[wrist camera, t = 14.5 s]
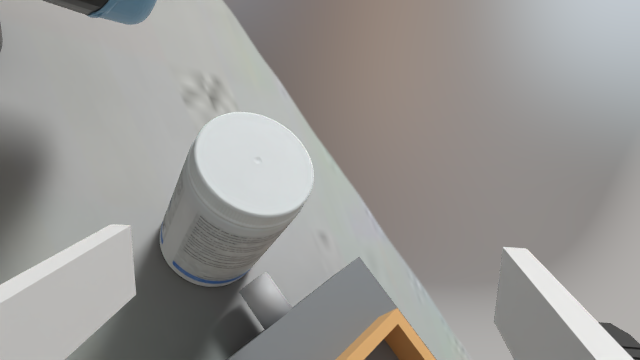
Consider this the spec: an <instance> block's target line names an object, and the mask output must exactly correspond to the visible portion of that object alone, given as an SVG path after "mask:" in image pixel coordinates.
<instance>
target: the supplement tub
mask: <svg viewBox="0 0 640 360" xmlns="http://www.w3.org/2000/svg"><path fill="white" fill-rule="evenodd" d="M313 182H314V171H313V166H312V162H311V159H310V157H309V154H308V152H307V150H306V149H305V147H304V146H303V144H302V143H301V142H300V140H299V139H298V138H297V137H296V136H295V135H294V134H293V133H292V132H291V131H290V130H288V129H287V128H286V127H284V126H283V125H281V124H280V123H278V122H276V121H275V120H272V119H270V118H268V117H265V116H262V115H259V114H255V113H249V112H232V113H227V114H223V115H220V116H218V117H216V118H214V119H212V120H211V121H209V122H208V123H207V124H206V125H205V126H204V127H203V128H202V129H201V130H200V132H199V134H198V136H197V137H196V139H195V140H194V142H193V143H192V145H191V147H190V150H189V153H188V155H187V158H186V160H185V163H184V166H183V168H182V171H181V174H180V176H179V179H178V182H177V185H176V187H175V190H174V193H173V195H172V198H171V201H170V203H169V206H168V209H167V211H166V214H165V217H164V220H163V222H162V226H161V229H160V247H161V251H162V254H163V256H164V258H165V260H166V262H167V263H168V265H169V266H170V267H171V268H172V269H173V270H174V271H175V272H176V273H177V274H178V275H180V276H181V277H182V278H184V279H185V280H187V281H189V282H191V283H194V284H197V285H201V286H206V287H218V286H224V285H228V284H230V283H233V282H235V281H237V280H238V279H240V278H241V277H243V276H244V275H245V274H246V273H247V272H248V271H249V270H250V269H251V268H252V267H253V265H254V264H255V263H256V262H257V261H258V260H259V259H260V257H261V256H262V255H263V254H264V253H265V252H266V251H267V249H268V248H269V247H270V246H271V245H272V244H273V242H274V241H275V240H276V239H277V238H278V237H279V236H280V234H281V233H282V232H283V231H284V230H285V229H286V228H287V226H288V225H289V224H290V223H291V222H292V220H293V219H294V218H295V217H296V216H297V214H298V213H299V212H300V210H301V208H302V207H303V205H304V203H305V201H306V200H307V198H308V197H309V195H310V193H311V190H312V187H313Z"/></svg>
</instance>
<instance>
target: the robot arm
mask: <svg viewBox="0 0 640 360" xmlns="http://www.w3.org/2000/svg"><path fill="white" fill-rule="evenodd" d="M43 1H46V2H49V3H52V4H55V5H58V6H61V7H64V8H67V9H70V10H73V11H76V12H79V13H82V14H85V15H87V16H89V17H92V18H98V17H100V18H104V19H108V20H112V21H116V22H120V23H124V24H131V25H133V24H138V23H140V22H142V21H144V20H145V19H146V18H147V17H148V16H149V14H150V13H151V11H152V9H153V7H154V5H155V3H156V1H157V0H43ZM1 48H2V31H1V24H0V51H1ZM135 295H136V287H135V274H134V260H133V247H132V234H131V225H116V224H111V225H109V226H107V227H105V228H103V229H101V230H100V231H98V232H96V233H94V234H92V235H90V236H89V237H87V238H85V239H83V240H81V241H79V242H78V243H76V244H74V245H72V246H70V247H68V248H67V249H65V250H63V251H61V252H59V253H57V254H56V255H54V256H52V257H50V258H48V259H46V260H45V261H43V262H41V263H39V264H37V265H35V266H34V267H32V268H30V269H28V270H26V271H24V272H23V273H21V274H19V275H17V276H15V277H13V278H12V279H10V280H8V281H6V282H4V283H3V284H1V285H0V360H65V359H66V358H67V357H68V356H69V355H70V354H71V353H73V352H74V351H75V350H76V349H77V348H78V347H79V346H80V345H81V344H82V343H84V342H85V341H86V340H87V339H88V338H89V337H90V336H91V335H92V334H93V333H95V332H96V331H97V330H98V329H99V328H100V327H101V326H102V325H103V324H104V323H106V322H107V321H108V320H109V319H110V318H111V317H112V316H113V315H114V314H115V313H117V312H118V311H119V310H120V309H121V308H122V307H123V306H124V305H125V304H126V303H128V302H129V301H130V300H131V299H132V298H133V297H134V296H135ZM494 323H495V325H496V326H497V328H498V330H499V332H500V334H501V336H502V338H503V340H504V341H505V343H506V345H507V347H508V349H509V351H510V353H511V355H512V356H513V358H514V360H640V344H639V343H638V342H637V341H636V340H635V339H634V338H633V337H632V336H631V335H629V334H628V333H626V332H624V331H623V330H620V329H619V328H617V327H616V326H614V325H612V324H611V323H600V322H597V321H596V320H595V319H594V318H593V317H592V316H591V315H590V314H589V313H588V312H587V311H586V309H584V307H583V306H582V305H581V304H580V303H579V302H578V301H577V300H576V299H575V298H574V297H573V296H572V295H571V294H570V293H569V292H568V291H567V290H566V289H565V288H564V287H563V286H562V285H561V284H560V283H559V282H558V280H557V279H556V278H554V276H553V275H552V274H551V273H550V272H549V271H548V270H547V269H546V268H545V267H544V266H543V265H542V264H541V263H540V262H539V261H538V260H537V259H536V258H535V257H534V256H533V255H532V254H531V253H530V251H528V250H527V249H525V248H509V247H503V251H502V259H501V268H500V276H499V284H498V292H497V300H496V308H495V316H494Z"/></svg>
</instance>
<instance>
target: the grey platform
mask: <svg viewBox="0 0 640 360" xmlns="http://www.w3.org/2000/svg"><path fill="white" fill-rule="evenodd" d="M240 294H241V295H242V297H243V298H244V300H245V301H246V303H247V304H248V306H249V307H250V309H251V310H252V312H253V313H254V314H255V316H256V317H257V319H258V320H259V322H260V323H261V325H262V326H263V328H264V329H265V330H263V331H262V332H261V333H260V334H258V335H257V336H256V337H255V338H253V339H252V340H251V341H249V342H248V343H247V344H246V345H244V346H243V347H242V348H241V349H239V350H238V351H237V352H235V353H234V354H233V355H232V356H230V357H229V358H228V359H226V360H436V358H435V357H434V356H433V354H432V353H431V352H430V350H429V349H428V348H427V346H426V345H425V344H424V342H423V341H422V340H421V338H420V337H419V336H418V334H417V333H416V332H415V330H414V329H413V328H412V326H411V325H410V324H409V322H408V321H407V320H406V318H405V317H404V316H403V314H402V313H401V312H400V310H399V309H398V308H397V306H396V305H395V304H394V302H393V301H392V300H391V298H390V297H389V296H388V294H387V293H386V292H385V290H384V289H383V288H382V286H381V285H380V284H379V282H378V281H377V280H376V278H375V277H374V276H373V274H372V273H371V272H370V270H369V269H368V268H367V266H366V265H365V264H364V262H363V261H362V260H361V258H360V257H358V258H357V259H356V260H354V261H353V262H351V263H350V264H349V265H347V266H346V267H345V268H343V269H342V270H340V271H339V272H338V273H336V274H335V275H334V276H332V277H331V278H330V279H329V280H327V281H326V282H325V283H323V284H322V285H321V286H320V287H318V288H317V289H316V290H315V291H313V292H312V293H311V294H309V295H308V296H307V297H306V298H304V299H303V300H302V301H300V302H299V303H298V304H297V305H295V306H294V307H293V308H292V307H291V305H290V304H289V303H288V301H287V300H286V298H285V297H284V295H283V294H282V293H281V291H280V290H279V288H278V287H277V285H276V284H275V283H274V281H273V280H272V278H271V277H270V275H269V274H268V273H267V272H265V273H264V274H262V275H260V276H259V277H257V278H256V279H255V280H253V281H252V282H250V283H249V284H248V285H247V286H245V287H244V288H243V289H242V290H241V291H240Z"/></svg>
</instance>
